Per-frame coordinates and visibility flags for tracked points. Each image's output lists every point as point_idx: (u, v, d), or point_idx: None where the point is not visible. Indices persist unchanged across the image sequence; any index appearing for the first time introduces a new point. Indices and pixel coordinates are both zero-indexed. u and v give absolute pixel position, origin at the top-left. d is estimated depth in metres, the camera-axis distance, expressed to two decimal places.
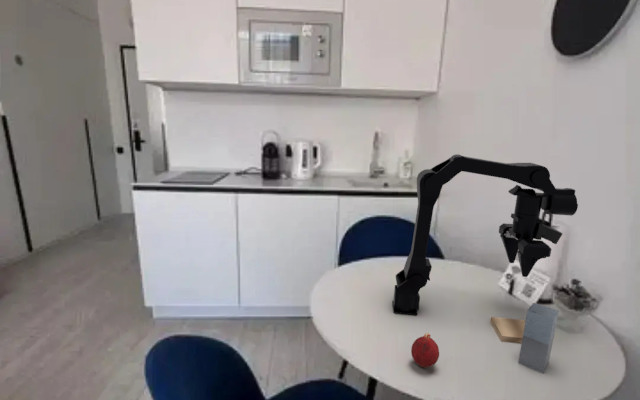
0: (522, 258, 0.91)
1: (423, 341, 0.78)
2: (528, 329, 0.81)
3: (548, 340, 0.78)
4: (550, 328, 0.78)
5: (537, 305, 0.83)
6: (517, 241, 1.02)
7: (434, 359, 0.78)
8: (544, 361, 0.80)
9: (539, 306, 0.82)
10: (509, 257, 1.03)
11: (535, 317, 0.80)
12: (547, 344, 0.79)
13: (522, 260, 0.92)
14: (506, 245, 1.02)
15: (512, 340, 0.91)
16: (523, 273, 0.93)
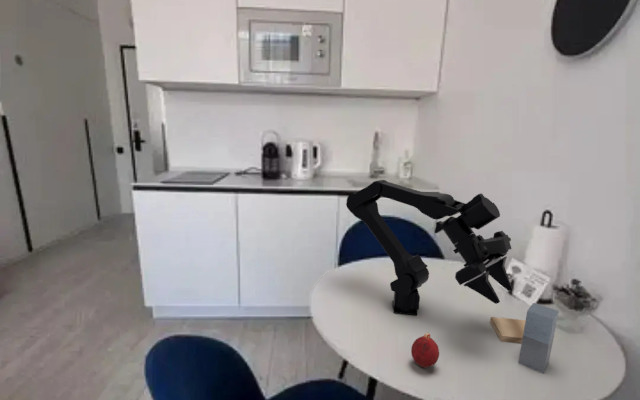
0: (472, 287, 0.84)
1: (423, 341, 0.78)
2: (528, 329, 0.81)
3: (548, 340, 0.78)
4: (550, 328, 0.78)
5: (537, 305, 0.83)
6: (497, 265, 0.91)
7: (434, 359, 0.78)
8: (544, 361, 0.80)
9: (539, 306, 0.82)
10: (503, 285, 0.90)
11: (535, 317, 0.80)
12: (547, 344, 0.79)
13: (475, 289, 0.84)
14: (491, 275, 0.92)
15: (512, 340, 0.91)
16: (492, 300, 0.83)
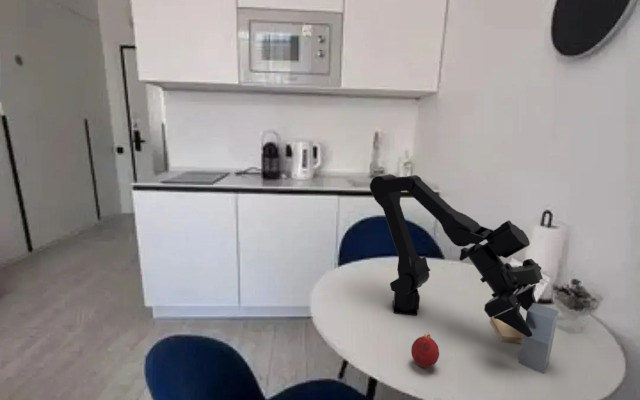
0: (502, 319, 0.80)
1: (423, 341, 0.78)
2: None
3: (548, 340, 0.78)
4: (550, 328, 0.78)
5: (537, 305, 0.83)
6: (527, 294, 0.87)
7: (434, 359, 0.78)
8: (544, 361, 0.80)
9: (539, 306, 0.82)
10: None
11: (535, 317, 0.80)
12: (547, 344, 0.79)
13: (505, 321, 0.80)
14: (520, 304, 0.88)
15: (512, 340, 0.91)
16: (524, 333, 0.79)
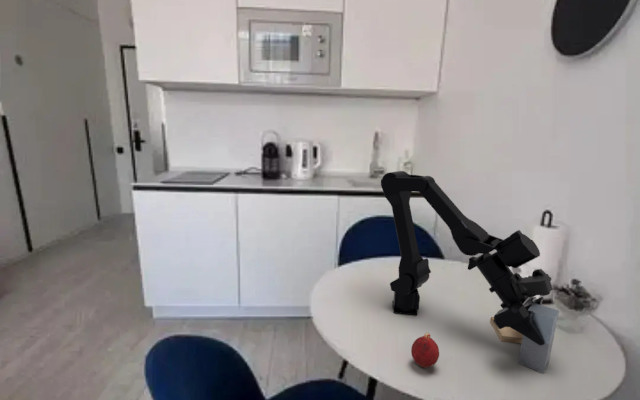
0: (514, 327, 0.81)
1: (423, 341, 0.78)
2: None
3: (548, 340, 0.78)
4: (550, 328, 0.78)
5: (537, 305, 0.83)
6: None
7: (434, 359, 0.78)
8: (544, 361, 0.80)
9: (539, 306, 0.82)
10: None
11: (535, 317, 0.80)
12: (547, 344, 0.79)
13: (517, 329, 0.81)
14: None
15: (512, 340, 0.91)
16: (536, 342, 0.79)
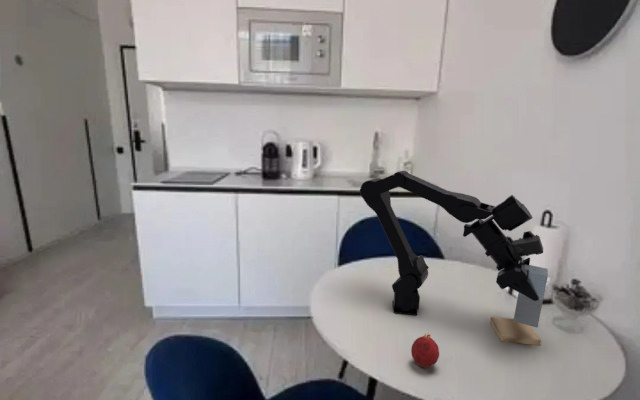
0: (512, 287, 0.85)
1: (423, 341, 0.78)
2: None
3: (542, 296, 0.84)
4: (544, 284, 0.84)
5: (528, 265, 0.89)
6: None
7: (434, 359, 0.78)
8: (538, 316, 0.86)
9: (530, 266, 0.88)
10: None
11: (530, 276, 0.85)
12: (541, 300, 0.85)
13: (515, 288, 0.85)
14: None
15: (512, 340, 0.91)
16: (531, 298, 0.85)
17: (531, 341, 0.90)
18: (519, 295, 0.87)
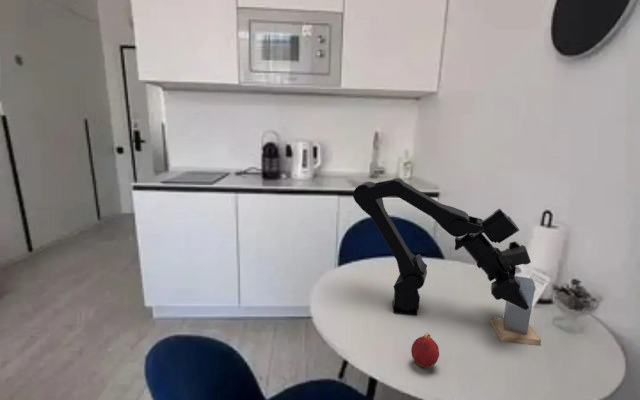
0: (505, 298, 0.89)
1: (423, 341, 0.78)
2: None
3: (530, 305, 0.90)
4: (532, 295, 0.89)
5: (515, 276, 0.94)
6: (510, 274, 0.97)
7: (434, 359, 0.78)
8: (527, 324, 0.91)
9: (517, 277, 0.94)
10: None
11: None
12: (530, 309, 0.90)
13: (507, 299, 0.89)
14: None
15: (512, 340, 0.91)
16: (522, 307, 0.89)
17: (531, 341, 0.90)
18: (509, 306, 0.92)
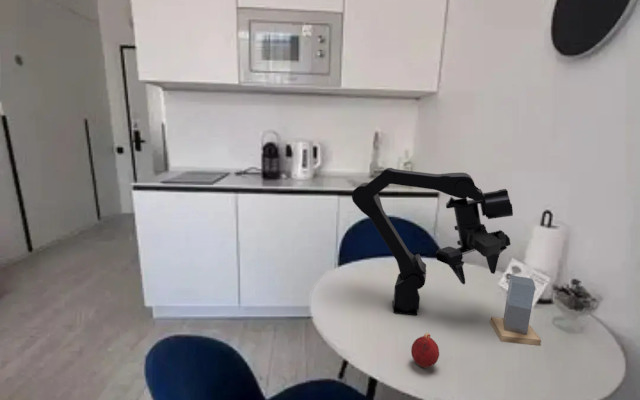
0: None
1: (423, 341, 0.78)
2: (513, 299, 0.91)
3: (530, 305, 0.90)
4: (532, 295, 0.89)
5: (515, 276, 0.94)
6: None
7: (434, 359, 0.78)
8: (527, 324, 0.91)
9: (517, 277, 0.94)
10: (489, 267, 0.99)
11: (519, 287, 0.90)
12: (530, 309, 0.90)
13: (450, 266, 0.97)
14: None
15: (512, 340, 0.91)
16: None
17: (531, 341, 0.90)
18: (509, 306, 0.92)
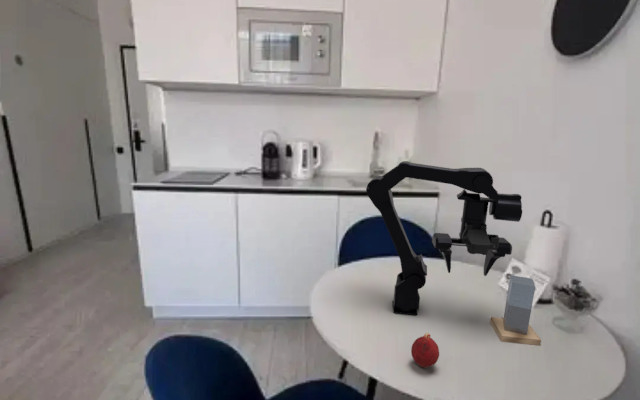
0: None
1: (423, 341, 0.78)
2: (513, 299, 0.91)
3: (530, 305, 0.90)
4: (532, 295, 0.89)
5: (515, 276, 0.94)
6: (490, 254, 0.96)
7: (434, 359, 0.78)
8: (527, 324, 0.91)
9: (517, 277, 0.94)
10: (484, 268, 0.98)
11: (519, 287, 0.90)
12: (530, 309, 0.90)
13: (443, 252, 1.00)
14: (486, 255, 0.99)
15: (512, 340, 0.91)
16: (447, 267, 1.00)
17: (531, 341, 0.90)
18: (509, 306, 0.92)
